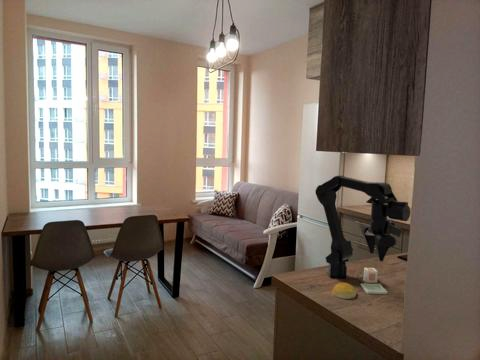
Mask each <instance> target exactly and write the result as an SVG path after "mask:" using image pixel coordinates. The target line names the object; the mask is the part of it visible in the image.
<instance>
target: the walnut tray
mask: <svg viewBox="0 0 480 360" xmlns="http://www.w3.org/2000/svg"><path fill="white" fill-rule="evenodd" d="M363 277H364V275H358V276H357V279H358V280H359V281H360V283H362V284H380V285H381V286H382V287H383V285H384V284H383V281H381V280H380V279H379V278H378V277H377V283H367V282H365V281H364V280H363Z"/></svg>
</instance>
